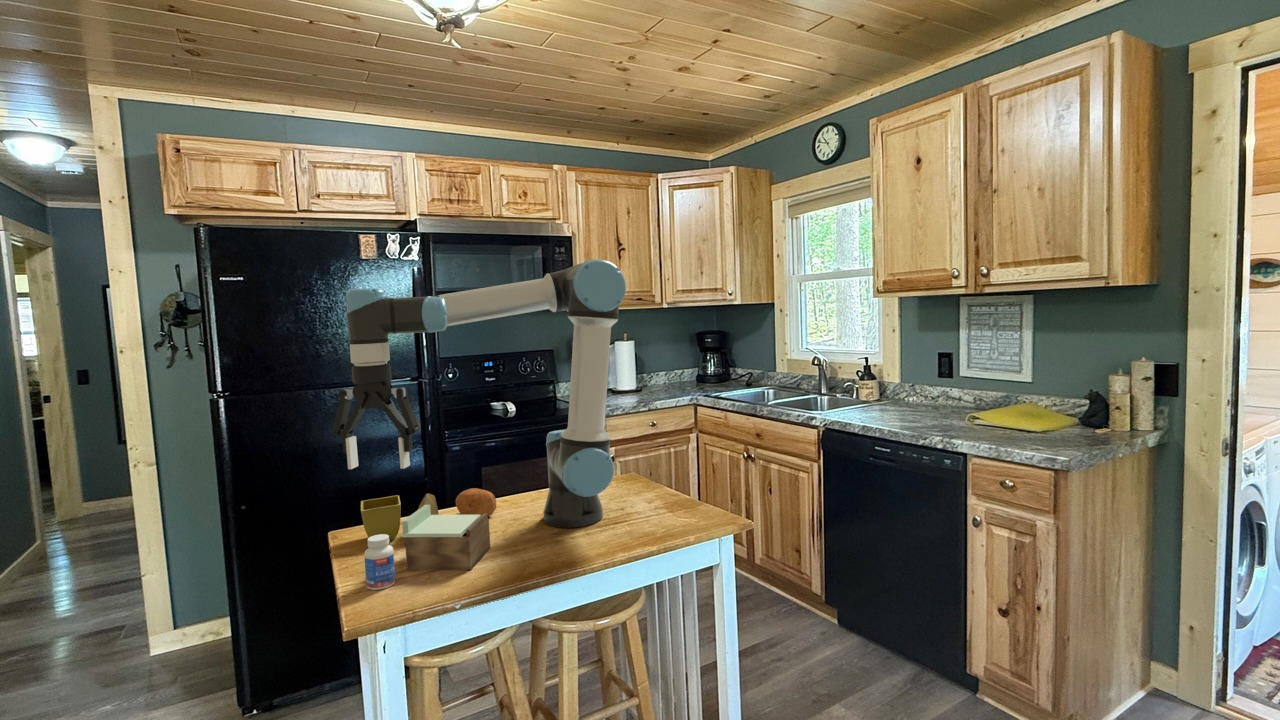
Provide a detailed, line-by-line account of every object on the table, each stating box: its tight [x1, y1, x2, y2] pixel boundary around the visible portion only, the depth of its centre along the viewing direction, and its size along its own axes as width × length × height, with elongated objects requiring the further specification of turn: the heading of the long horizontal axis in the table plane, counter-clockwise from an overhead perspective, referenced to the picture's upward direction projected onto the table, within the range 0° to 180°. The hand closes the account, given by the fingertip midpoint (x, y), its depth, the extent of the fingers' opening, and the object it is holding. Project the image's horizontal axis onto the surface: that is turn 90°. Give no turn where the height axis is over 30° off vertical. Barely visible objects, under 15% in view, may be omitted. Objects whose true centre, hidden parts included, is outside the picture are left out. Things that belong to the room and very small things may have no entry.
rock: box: [417, 493, 440, 515], centre depth 152 cm, size 11×9×10 cm
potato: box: [455, 487, 497, 517], centre depth 166 cm, size 9×11×8 cm
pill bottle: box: [363, 534, 396, 591], centre depth 126 cm, size 6×5×10 cm
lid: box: [401, 505, 481, 538], centre depth 138 cm, size 13×12×3 cm
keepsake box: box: [404, 513, 491, 571], centre depth 138 cm, size 14×12×8 cm
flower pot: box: [360, 494, 402, 541], centre depth 152 cm, size 9×9×9 cm
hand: (379, 467), depth 133 cm, fingers open, 11 cm apart
